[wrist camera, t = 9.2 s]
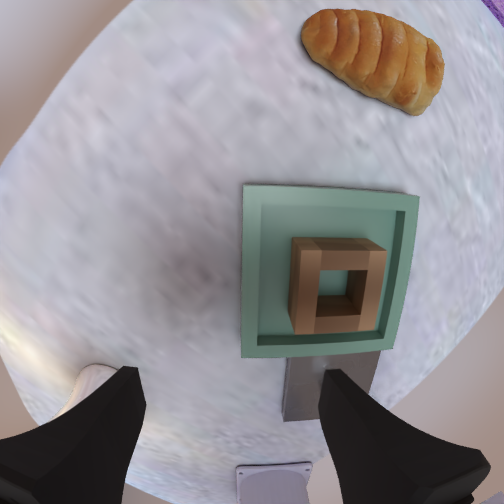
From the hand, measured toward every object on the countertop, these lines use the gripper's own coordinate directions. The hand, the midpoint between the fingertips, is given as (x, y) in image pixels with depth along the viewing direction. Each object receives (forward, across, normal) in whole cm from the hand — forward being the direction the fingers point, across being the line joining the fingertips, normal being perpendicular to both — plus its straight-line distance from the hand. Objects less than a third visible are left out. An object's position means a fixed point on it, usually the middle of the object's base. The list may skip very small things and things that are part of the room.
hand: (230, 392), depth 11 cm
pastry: (+10, -9, -16) cm, 21 cm away
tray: (+10, -6, -2) cm, 12 cm away
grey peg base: (+10, -8, +8) cm, 15 cm away
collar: (+9, -6, -1) cm, 11 cm away
